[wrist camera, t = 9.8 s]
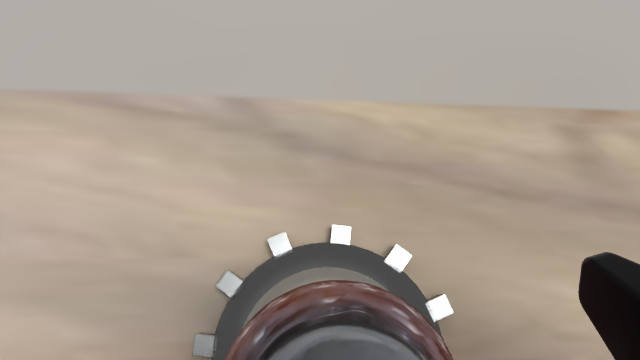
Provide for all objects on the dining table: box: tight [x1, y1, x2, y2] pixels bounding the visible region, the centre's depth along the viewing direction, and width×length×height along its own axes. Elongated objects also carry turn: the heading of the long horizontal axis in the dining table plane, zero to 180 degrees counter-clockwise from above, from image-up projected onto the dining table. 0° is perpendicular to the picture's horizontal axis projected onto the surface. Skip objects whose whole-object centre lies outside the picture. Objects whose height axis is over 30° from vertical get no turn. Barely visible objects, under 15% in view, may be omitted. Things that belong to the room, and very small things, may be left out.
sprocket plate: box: [192, 225, 454, 360], centre depth 21 cm, size 11×11×1 cm
